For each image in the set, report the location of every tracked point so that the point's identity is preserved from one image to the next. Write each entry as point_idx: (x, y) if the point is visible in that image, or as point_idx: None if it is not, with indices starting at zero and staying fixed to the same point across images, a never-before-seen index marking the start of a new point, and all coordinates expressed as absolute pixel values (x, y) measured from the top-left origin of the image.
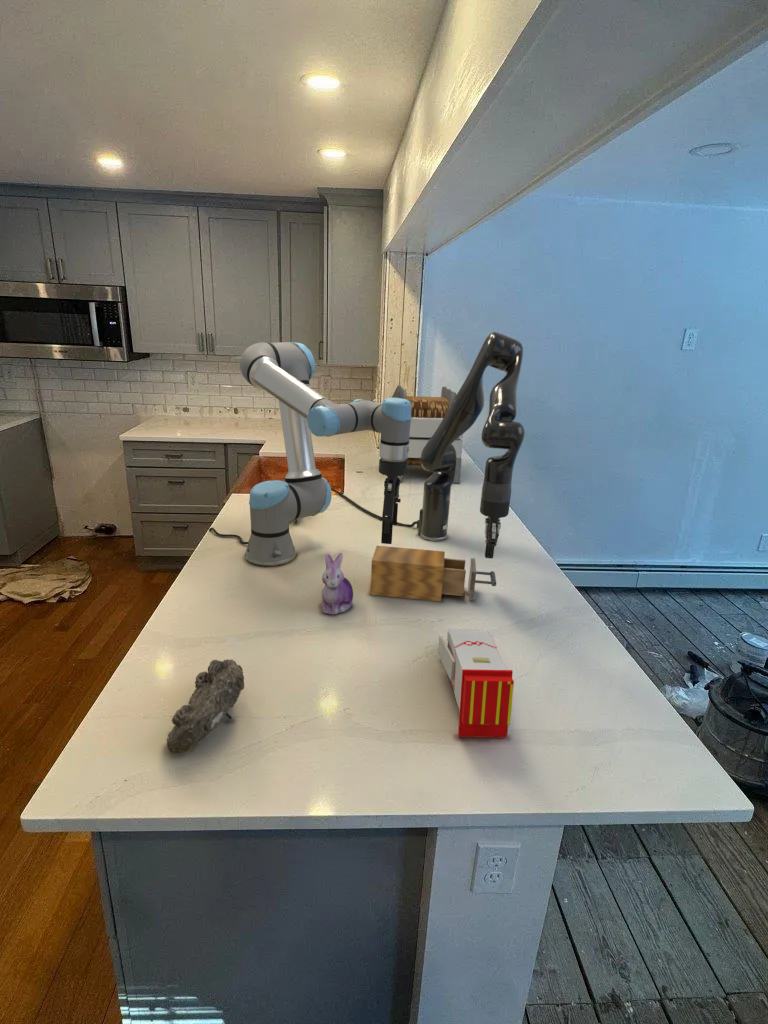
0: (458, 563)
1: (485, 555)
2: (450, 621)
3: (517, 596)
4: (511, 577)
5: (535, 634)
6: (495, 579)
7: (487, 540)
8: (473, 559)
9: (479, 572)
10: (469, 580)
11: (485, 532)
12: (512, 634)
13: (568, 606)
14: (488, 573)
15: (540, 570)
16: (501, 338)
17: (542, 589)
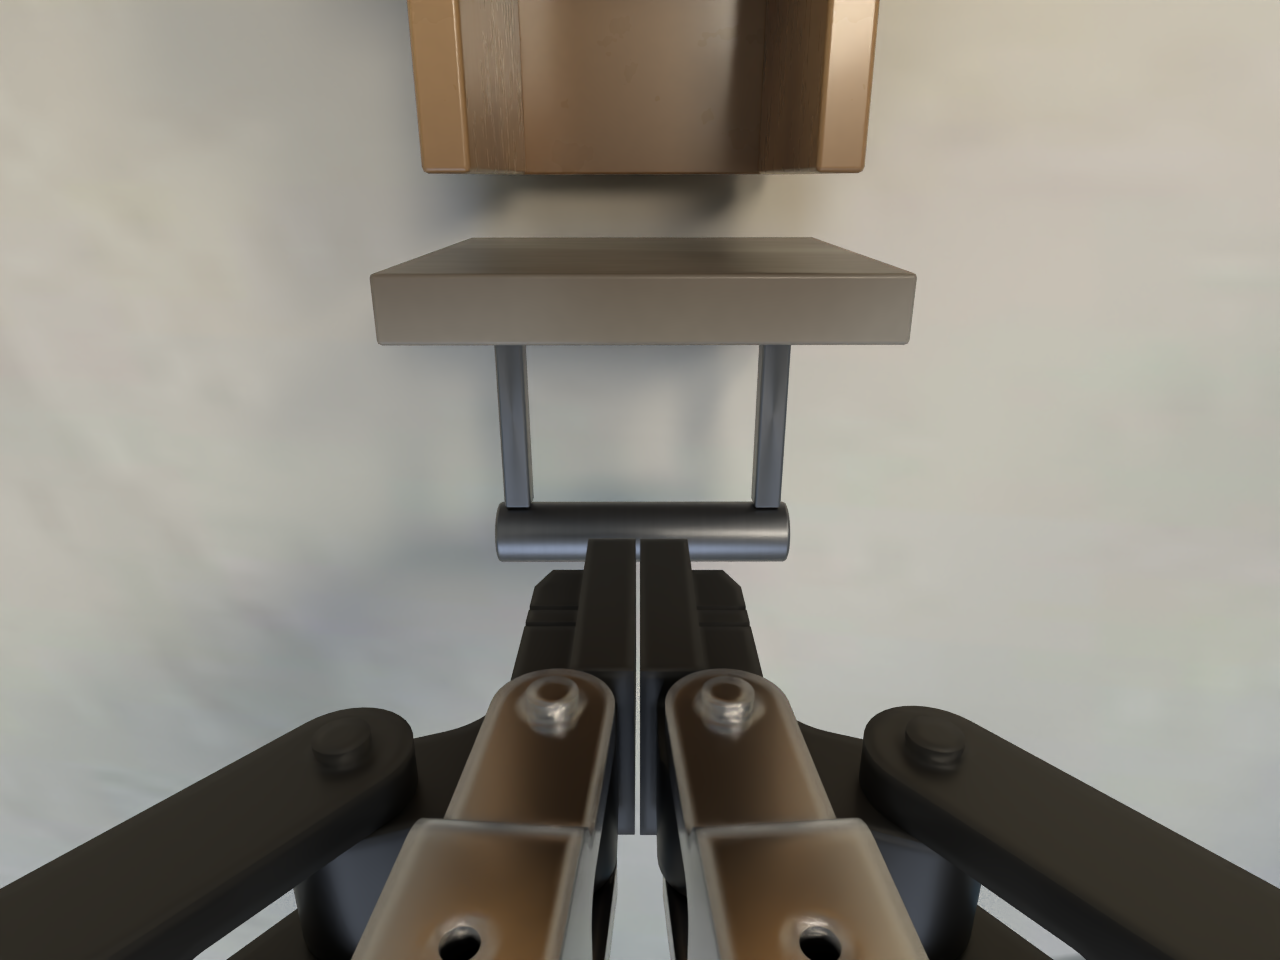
0: (813, 53)
1: (588, 554)
2: (47, 38)
3: None
4: (1065, 649)
5: (141, 724)
6: (581, 560)
7: (149, 862)
8: (856, 315)
9: (761, 382)
10: (675, 247)
11: (500, 948)
12: (68, 576)
13: (617, 954)
14: (756, 489)
15: None
16: None
17: None
